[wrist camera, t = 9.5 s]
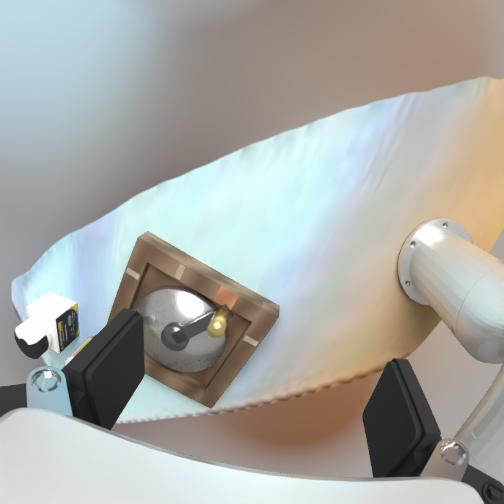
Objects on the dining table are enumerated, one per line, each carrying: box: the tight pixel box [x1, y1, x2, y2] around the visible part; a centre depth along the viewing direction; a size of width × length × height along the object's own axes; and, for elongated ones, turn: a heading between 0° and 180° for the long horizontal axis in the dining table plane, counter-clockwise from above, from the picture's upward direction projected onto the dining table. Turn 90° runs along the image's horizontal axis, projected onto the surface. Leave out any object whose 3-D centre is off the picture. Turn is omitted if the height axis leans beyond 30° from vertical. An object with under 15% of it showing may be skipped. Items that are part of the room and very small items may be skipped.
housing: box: [107, 231, 280, 408], centre depth 45 cm, size 21×21×3 cm
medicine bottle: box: [15, 291, 79, 359], centre depth 43 cm, size 7×7×12 cm
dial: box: [135, 285, 234, 372], centre depth 41 cm, size 16×14×7 cm
